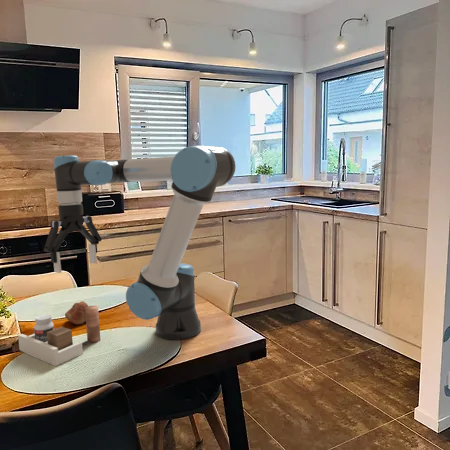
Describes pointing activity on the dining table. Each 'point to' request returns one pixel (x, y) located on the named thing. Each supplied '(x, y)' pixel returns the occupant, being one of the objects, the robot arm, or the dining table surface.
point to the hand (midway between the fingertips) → (76, 267)
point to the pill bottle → (43, 327)
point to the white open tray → (48, 350)
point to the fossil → (77, 313)
